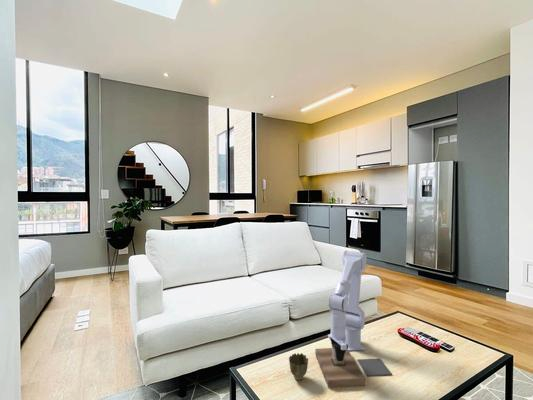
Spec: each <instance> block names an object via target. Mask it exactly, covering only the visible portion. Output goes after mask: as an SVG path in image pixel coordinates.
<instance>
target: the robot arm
mask: <svg viewBox="0 0 533 400" xmlns="http://www.w3.org/2000/svg"><path fill="white" fill-rule="evenodd" d="M341 257H342V258H341V260H342V264H343V270H342V275H341V278H340V279H338V280H337V282H336V286H335V288H334V292H333V293H332V294H331V295H330V297H329V299H328V308H329V313H330V333H329V334H327V338H328V339H329V340H330V344H331V346H332V345H334V348H335V351H336V358H337V361H343V358H344V354H345V352H346V350H347V349H348V351H349V352H352V351H364V350H365V348H364V346H363V345H362V343H361V341H362V340H361V339H362V335H361V334H362V330H363V329H364V327H365V323H366V318H365V314H366V313H365V311H364V310H363V309H362V308H361V307H360V293H361V281H362V272H364V271H366V269H367V261H368V260H367V254H366V253H365V252H358V251H357V252H356V251H350V250H344V251H343V252H342V256H341Z"/></svg>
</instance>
